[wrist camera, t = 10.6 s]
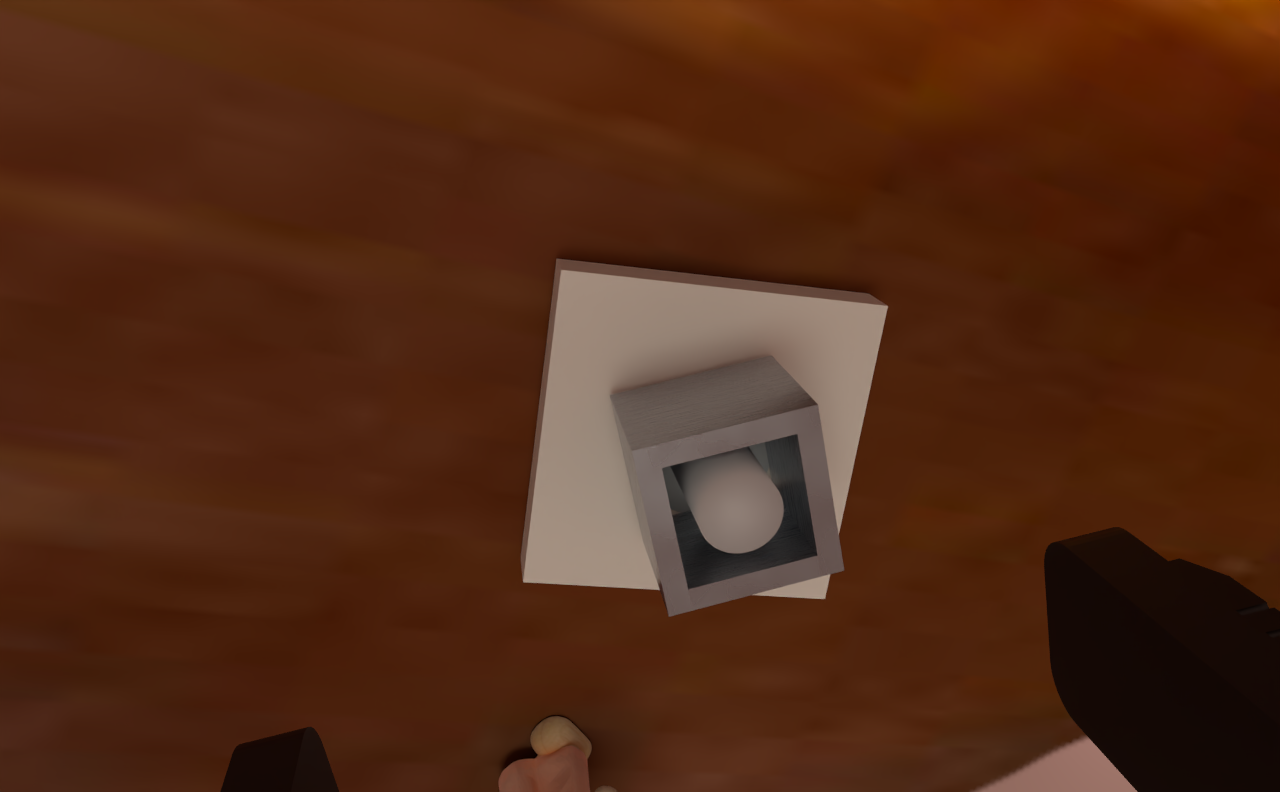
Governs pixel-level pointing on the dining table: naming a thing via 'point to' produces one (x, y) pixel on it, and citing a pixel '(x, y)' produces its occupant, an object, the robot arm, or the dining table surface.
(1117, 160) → the dining table surface
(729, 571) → the collar
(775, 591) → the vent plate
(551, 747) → the grandmother figurine
